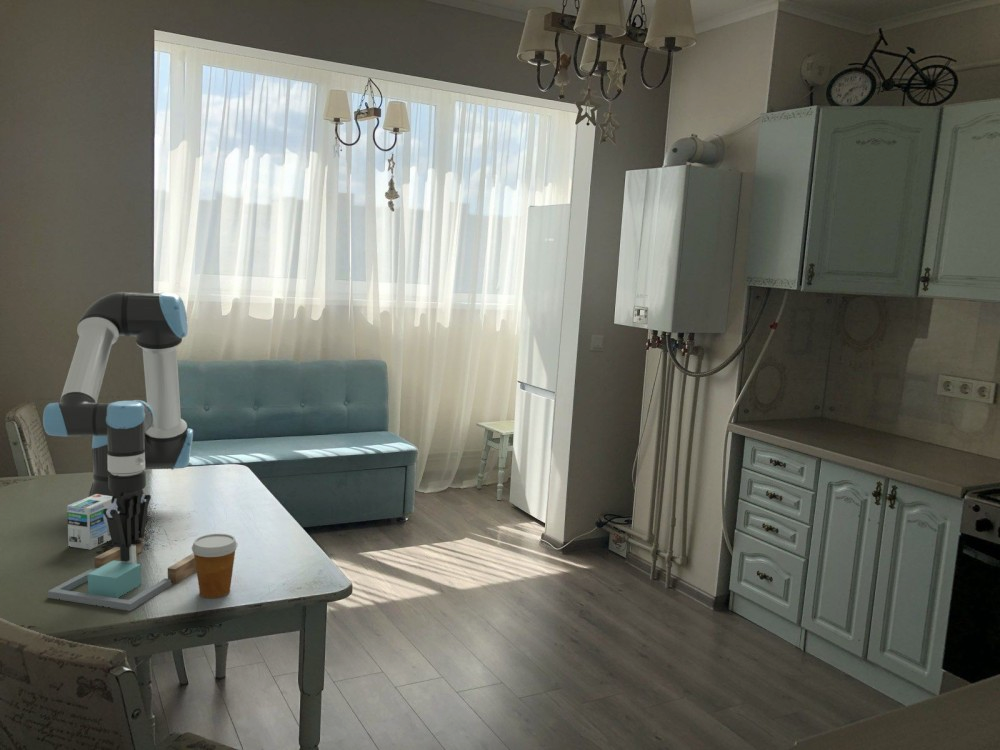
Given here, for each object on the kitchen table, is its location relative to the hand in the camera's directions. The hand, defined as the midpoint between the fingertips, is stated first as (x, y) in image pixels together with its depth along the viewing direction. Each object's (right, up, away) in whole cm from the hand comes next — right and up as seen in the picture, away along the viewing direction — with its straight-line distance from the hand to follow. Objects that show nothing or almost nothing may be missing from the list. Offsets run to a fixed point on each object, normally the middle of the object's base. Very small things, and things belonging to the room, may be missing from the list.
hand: (129, 572), depth 176 cm
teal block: (-1, -3, -4) cm, 5 cm away
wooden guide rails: (+2, -1, +9) cm, 9 cm away
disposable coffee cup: (+21, -4, -3) cm, 21 cm away
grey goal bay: (-1, -3, -5) cm, 6 cm away
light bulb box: (-20, +2, +23) cm, 30 cm away
